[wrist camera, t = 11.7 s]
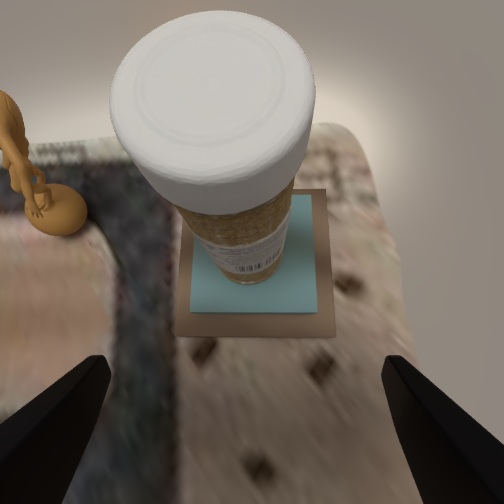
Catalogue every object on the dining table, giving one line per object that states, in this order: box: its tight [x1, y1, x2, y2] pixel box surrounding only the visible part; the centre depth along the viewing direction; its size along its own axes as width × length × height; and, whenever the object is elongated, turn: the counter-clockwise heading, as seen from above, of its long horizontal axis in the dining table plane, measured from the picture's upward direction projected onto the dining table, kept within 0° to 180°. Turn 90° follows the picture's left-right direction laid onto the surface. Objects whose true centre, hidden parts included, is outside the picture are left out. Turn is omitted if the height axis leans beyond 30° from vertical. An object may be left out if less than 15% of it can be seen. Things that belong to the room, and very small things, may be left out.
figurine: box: [0, 90, 87, 236], centre depth 18 cm, size 8×6×12 cm
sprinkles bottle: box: [110, 11, 316, 285], centre depth 12 cm, size 5×4×13 cm
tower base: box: [174, 189, 336, 337], centre depth 21 cm, size 11×11×4 cm
